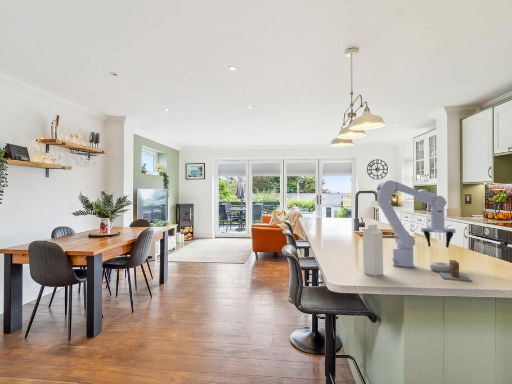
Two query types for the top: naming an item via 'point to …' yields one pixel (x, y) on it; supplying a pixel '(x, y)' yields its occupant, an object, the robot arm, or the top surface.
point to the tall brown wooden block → (454, 268)
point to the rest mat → (461, 277)
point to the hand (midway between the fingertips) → (438, 246)
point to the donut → (440, 267)
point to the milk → (373, 251)
